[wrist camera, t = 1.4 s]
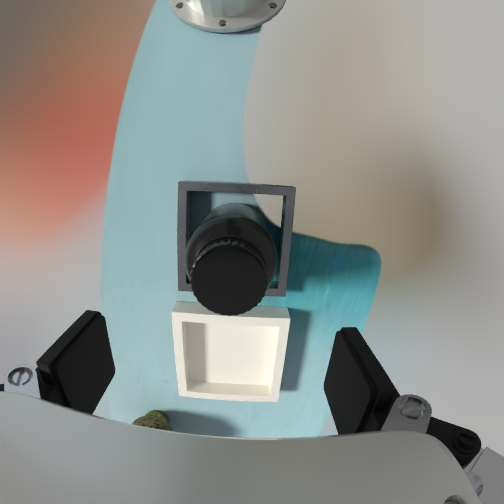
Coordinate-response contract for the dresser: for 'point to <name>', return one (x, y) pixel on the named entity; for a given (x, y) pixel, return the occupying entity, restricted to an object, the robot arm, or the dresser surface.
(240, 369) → the white square tray
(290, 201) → the frame
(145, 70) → the dresser surface
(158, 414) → the olive rounded textured piece
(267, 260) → the supplement bottle
